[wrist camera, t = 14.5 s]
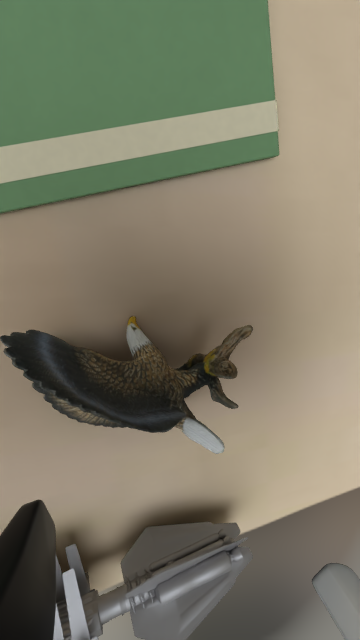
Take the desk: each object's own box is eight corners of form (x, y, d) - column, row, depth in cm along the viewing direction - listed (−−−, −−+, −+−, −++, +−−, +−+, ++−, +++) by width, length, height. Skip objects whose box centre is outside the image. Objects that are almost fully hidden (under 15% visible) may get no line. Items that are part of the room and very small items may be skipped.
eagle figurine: (212, 260, 15) (-6, 275, 11) (299, 394, 11) (3, 488, 7) (176, 351, 20) (24, 382, 16) (224, 461, 16) (38, 533, 13)
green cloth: (-204, 255, 12) (-221, 257, 11) (-453, -125, 8) (-498, -154, 7) (272, 157, 15) (280, 154, 14) (248, -140, 11) (256, -161, 11)
